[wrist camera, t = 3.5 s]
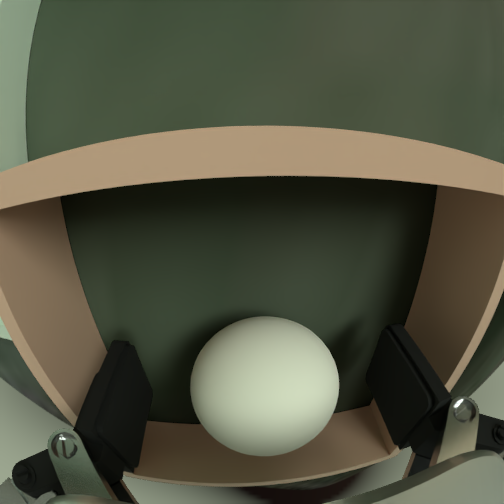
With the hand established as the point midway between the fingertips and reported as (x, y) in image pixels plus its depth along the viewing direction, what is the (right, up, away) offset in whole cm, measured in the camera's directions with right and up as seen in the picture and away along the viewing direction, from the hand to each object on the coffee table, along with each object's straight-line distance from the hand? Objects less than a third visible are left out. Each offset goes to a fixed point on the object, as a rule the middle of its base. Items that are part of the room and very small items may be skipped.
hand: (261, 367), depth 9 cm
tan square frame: (0, +1, +1) cm, 2 cm away
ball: (0, 0, -1) cm, 1 cm away
